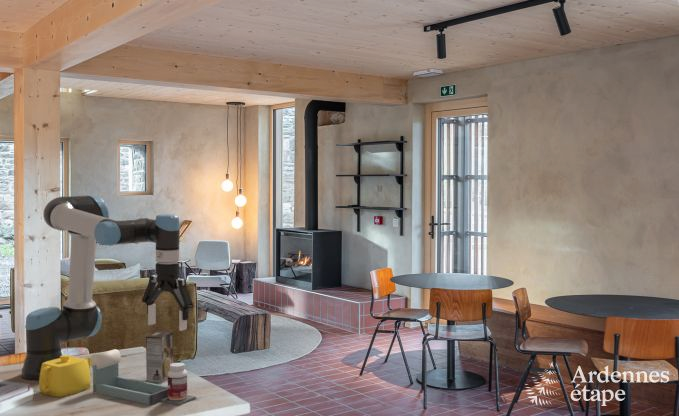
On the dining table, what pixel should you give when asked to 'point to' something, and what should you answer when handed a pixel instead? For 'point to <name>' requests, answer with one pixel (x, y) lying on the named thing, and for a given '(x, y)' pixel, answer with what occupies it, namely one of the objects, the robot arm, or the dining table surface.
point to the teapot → (65, 376)
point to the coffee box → (159, 355)
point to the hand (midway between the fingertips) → (167, 327)
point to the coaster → (177, 401)
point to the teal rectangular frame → (122, 381)
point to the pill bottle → (177, 382)
